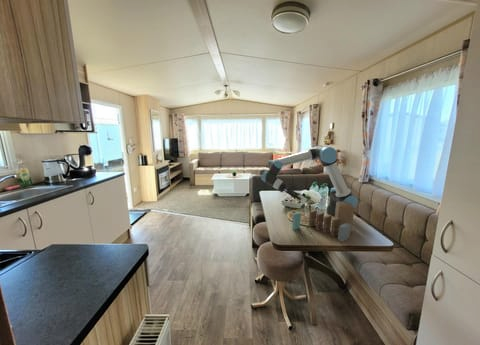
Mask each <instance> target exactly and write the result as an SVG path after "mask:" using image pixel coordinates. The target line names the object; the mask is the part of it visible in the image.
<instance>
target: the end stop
mask: <svg viewBox="0 0 480 345" xmlns="http://www.w3.org/2000/svg"><path fill="white" fill-rule="evenodd" d="M350 228H351V224H349V223H345V224H343V225H341V226H339V232H338V235H337V241H339V242H345V241H347V240H348V239H349V238H350V235H351V233H350Z"/></svg>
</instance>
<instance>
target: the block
mask: <svg viewBox="0 0 480 345" xmlns="http://www.w3.org/2000/svg"><path fill="white" fill-rule="evenodd" d="M354 213H355V207H354V206H353V205H352V204H351V203H348V202H336V209H335V216H334V219H335V218H340V223H339V226H341V225H343V224H345V223H349V224H351V228H350V234H351V233H352V231H353V223H354V222H353V221H354Z"/></svg>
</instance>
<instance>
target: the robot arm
mask: <svg viewBox="0 0 480 345" xmlns="http://www.w3.org/2000/svg"><path fill="white" fill-rule="evenodd" d="M313 160H317V161H319V162H320V164H321V167H324V168H325V170H326V171H327V174H328V176H329V178H330V181H331V183H332V186H333V187H331V188H330V192H329V202H328V205H327V207H326V211H325V213H327V214H328V215H332V217H333V216H334V217H335V209H336V202H348V203H351V204H352V205H353V206H354V208H356V206H357V204H358V198H357V197H356V196H355V195H353V193H352V190H351V189H350V188H348V186H347V184H346V182H345V179H344V178H343V175H342V173H341V170H340V168H339V166H338V151H337V149H335V148H334V147H332V146H327V145H317V146H313V147H311V148H307V149H306V150H305V151H300V152H298V153H294V154H290V155H287V156H283V157H280V158H277V159H276V158H275V159H270V160H268V161H267V168H268V169H269V170H268V171H264V172H263V174H262V175H261V177H260V178H261V181H263V182H264V183H266V184H267V185H269V186H271V187H272V188H273V189H274V190H275V189H276V190H278V192H280V193H283V192H285V193H286V194H288V195H289V196H291V197H292V198H293V199H294V200H297V201H299V202H301V203H302V204H305V203H306V202H307V200H308V198H306V197H305V196H303V195H301V194H300V192H296V191H294V190H293V189H291V187H287V186H288V183H286V182H284V181H283V180H282V179H280V178H278V176H279V173H280V171H281V170H282V169H283V168H284V167H287V166H291V165H294V164H298V163H302V162H306V161H313Z"/></svg>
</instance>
